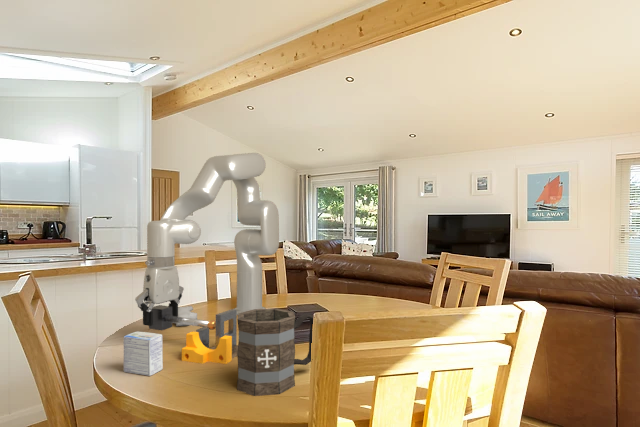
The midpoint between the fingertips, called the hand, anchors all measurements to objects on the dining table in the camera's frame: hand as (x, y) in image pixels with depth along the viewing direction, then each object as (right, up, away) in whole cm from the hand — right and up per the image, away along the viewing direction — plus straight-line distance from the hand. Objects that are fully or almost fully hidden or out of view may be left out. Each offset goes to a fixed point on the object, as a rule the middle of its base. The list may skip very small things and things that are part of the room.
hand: (161, 320), depth 119 cm
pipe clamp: (+18, -6, -15) cm, 24 cm away
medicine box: (+5, -6, -23) cm, 24 cm away
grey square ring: (+19, -6, -9) cm, 22 cm away
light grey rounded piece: (-1, -6, +22) cm, 22 cm away
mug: (+37, -6, -27) cm, 47 cm away
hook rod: (+8, -2, -4) cm, 9 cm away
